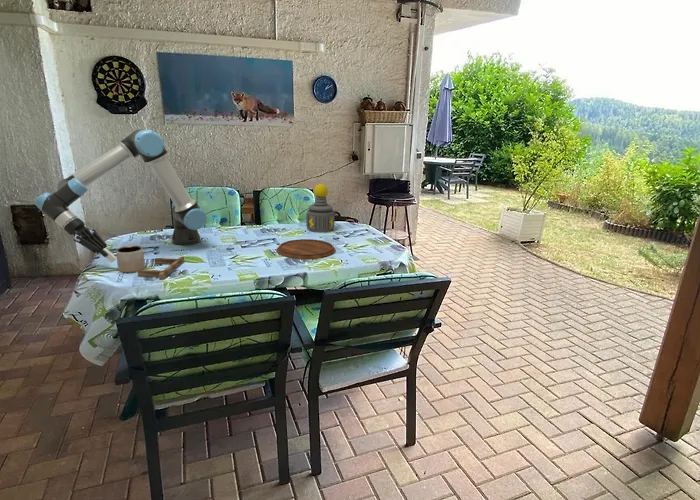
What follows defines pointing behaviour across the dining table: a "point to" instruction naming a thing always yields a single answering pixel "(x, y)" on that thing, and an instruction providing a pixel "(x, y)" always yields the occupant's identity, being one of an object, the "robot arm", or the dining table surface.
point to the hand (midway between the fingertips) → (114, 260)
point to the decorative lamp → (320, 212)
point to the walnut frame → (162, 274)
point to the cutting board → (306, 249)
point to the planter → (130, 259)
